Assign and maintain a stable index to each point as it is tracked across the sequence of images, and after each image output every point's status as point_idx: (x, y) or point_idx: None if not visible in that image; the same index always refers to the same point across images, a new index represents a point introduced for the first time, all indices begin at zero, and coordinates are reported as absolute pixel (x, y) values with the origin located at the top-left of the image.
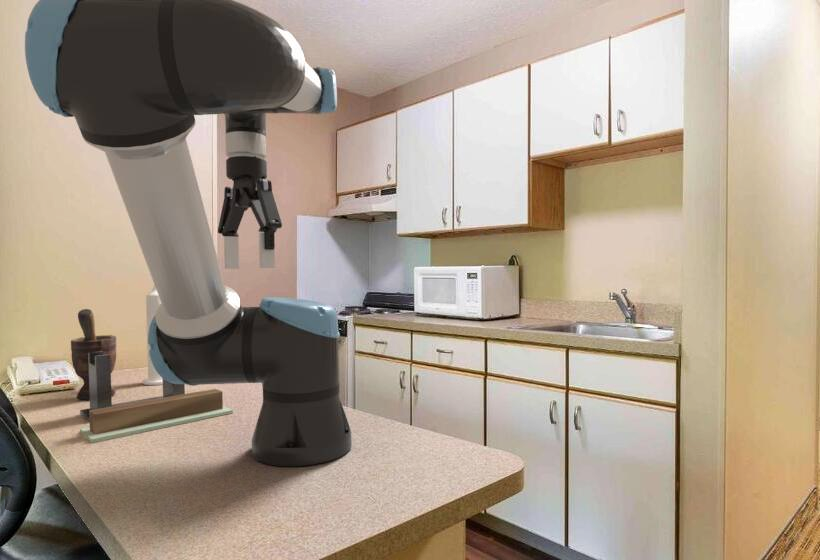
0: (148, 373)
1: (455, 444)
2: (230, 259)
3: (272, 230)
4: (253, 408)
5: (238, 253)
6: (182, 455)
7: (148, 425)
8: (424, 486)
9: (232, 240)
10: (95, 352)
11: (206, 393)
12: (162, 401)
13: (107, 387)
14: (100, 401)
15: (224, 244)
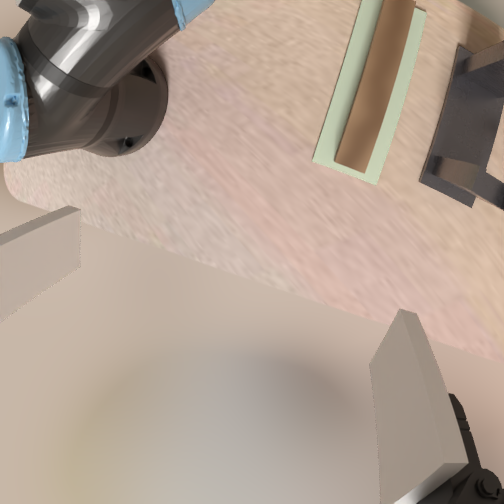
0: None
1: (38, 197)
2: (397, 359)
3: None
4: (303, 197)
5: (377, 422)
6: (219, 14)
7: (358, 49)
8: None
9: (405, 467)
10: None
11: (349, 139)
12: (370, 70)
13: (479, 63)
14: (472, 58)
15: (450, 411)
